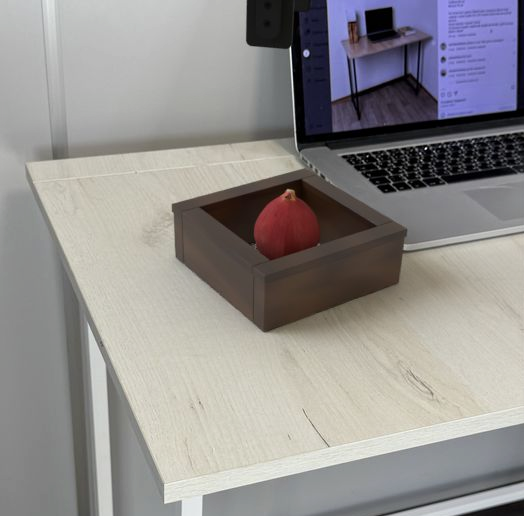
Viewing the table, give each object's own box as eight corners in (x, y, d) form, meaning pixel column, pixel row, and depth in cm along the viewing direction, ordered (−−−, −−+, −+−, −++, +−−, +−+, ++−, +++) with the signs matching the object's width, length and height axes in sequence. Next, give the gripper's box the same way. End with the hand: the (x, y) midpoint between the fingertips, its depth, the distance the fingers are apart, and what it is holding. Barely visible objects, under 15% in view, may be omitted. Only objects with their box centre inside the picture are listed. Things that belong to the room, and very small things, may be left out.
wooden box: (302, 218, 88) (305, 167, 85) (401, 283, 78) (408, 228, 75) (173, 256, 81) (171, 203, 78) (263, 333, 72) (265, 276, 68)
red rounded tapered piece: (242, 261, 81) (243, 181, 76) (297, 248, 83) (301, 169, 78) (272, 292, 77) (274, 209, 72) (328, 277, 79) (335, 196, 74)
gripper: (335, -247, 48) (315, 68, 58) (362, -253, 62) (343, 1, 72) (200, -252, 49) (204, 58, 59) (257, -257, 63) (252, -5, 73)
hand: (280, 27), depth 65 cm, fingers open, 9 cm apart
